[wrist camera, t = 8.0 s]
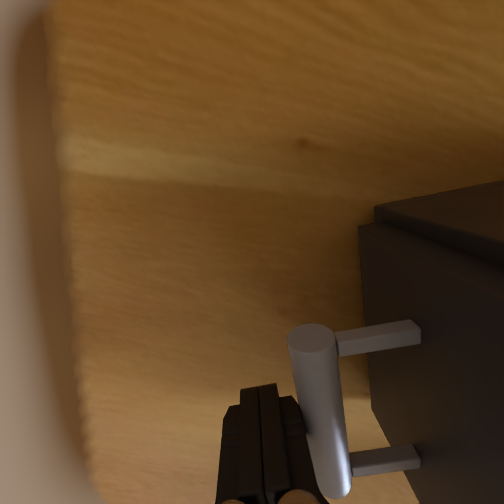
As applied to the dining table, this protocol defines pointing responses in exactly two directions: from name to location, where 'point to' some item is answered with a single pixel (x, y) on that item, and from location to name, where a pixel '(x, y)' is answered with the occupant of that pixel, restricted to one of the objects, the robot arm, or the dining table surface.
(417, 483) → the drawer
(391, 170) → the dining table surface
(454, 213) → the dark grey cabinet
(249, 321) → the dining table surface
